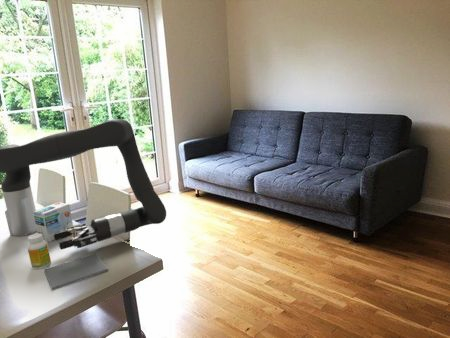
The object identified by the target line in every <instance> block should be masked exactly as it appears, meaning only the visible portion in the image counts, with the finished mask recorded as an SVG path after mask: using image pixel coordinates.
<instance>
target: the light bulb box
mask: <svg viewBox="0 0 450 338" xmlns="http://www.w3.org/2000/svg"><path fill="white" fill-rule="evenodd" d="M33 213H34V218H35V223H36V227H37V231H36V232H37V234H38V233H40V234H42V235H43V240H45V241H46V242H47V243H49V242H52V241H54V240H55V239H54V234H55V233H59V232H62V231H66V229H67V227H70V226H74V223H73V218H72V213H71V207H70V203H66V202H65V203H64V202H60V201H57V202H55V203H53V204H49V205H46V206H44V207H41V208H39V209H36V210H35V211H33ZM72 229H73V228H72ZM71 232H72V231H71Z"/></svg>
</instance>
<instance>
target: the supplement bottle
mask: <svg viewBox="0 0 450 338" xmlns="http://www.w3.org/2000/svg"><path fill="white" fill-rule="evenodd" d="M27 240H28V244H27V252H28V258H29V261H30V265H31V268H32V269H33V270H39V269H46V268H48V266H49V265H51V263H52V261H51V255H50V251H49V246H48V245H49V244H48V241H45V240H43V235H42V234H40V233H38V232H37V233H32V234H30V235H29V236H28V237H27Z"/></svg>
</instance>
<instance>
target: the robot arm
mask: <svg viewBox="0 0 450 338" xmlns="http://www.w3.org/2000/svg"><path fill="white" fill-rule="evenodd" d="M136 140H137V139H136V137H135V133H134V129H133V126H132V125H131V124H130V122H129V121H127V120H125V119H123V118H122V119H121V118H113V119H109V120H105V121H103V122H101V123H98V124H96V125H94V126H93V125H92V126H90V127H87V128H83V129H73V130H67V131H63V132H57V133H53V134H51V135H47V136H43V137H42V138H39V139H35V140H34V141H30V142H29V143H26V144H21V145H19V144H8V145H5V146H1V147H0V174H1V173H2V174H5V178H4V179H3V181H2V182H1V186H0V187H1V190H2V195H3V200H4V203H5V207H6V210H5V211H4V214H5V218H6V223H7V226H8V227H7V228H8V231H9V235H10V236H14V237H22V236H27V235H32V234H35V233H36V232H37V227H36V223H35V218H34V213H33V211H35V210H37V209H36V205H35V201H34V196H33V192H32V187H31V177H32V176H31V169H30V166H32V165H38V164H46V163H51V162H56V161H61V160H65V159H70V158H73V157H76V156H79V155H81V154H83V153H86V152H89V151H91V150H96V149H101V148H108V147H117V149H118V150H119V152H120V153H121V156H122V158H123V161H124V166H125V173H126V177H127V181H128V183H129V186H130V189H131V191H132V192H133V196H134V197H135V199H136V200H137V201H138V202H140V203H141V205H142V206H140V207H138V208H134V209H129V210H126V211H123V212H118V213H112V214H109V215H105V216H101V217H97V218H94V219H92V220H91V221H90V225H87V224H86V222H82V223H78V224H73V226H70V227H67V229H66V231H62V232H59V233H55V234H54V240H55V241H60V240H62V241H60V242H59V243H58V245H59V246H58V247H59V249H60V250H65V249H68V248H72V247H74V248H77V249H81V248H83V247H87V246H90V245H93V244H96V243H97V242H99V243H100V242H103V241H106V240H109V239H112V238H116V237H118V236H121V235H123V234H126V233H129V232H133V231H135V230H138V229H140V228H142V227H144V226H149V225H154V224H155V225H159V224H162V223H163V222H164V221H165V220H166V218H167V210H166V207H165V205H164V202H162V201H163V200H162V199H161V198H160V196H159V195H158V194H157V192H156V191H155V189H154V186H153V183H152V182H151V180H150V177H149V175H148V172H147V170H146V168H145V165H144V162H143V160H142V157H141V155H140V151H139V148H138V145H137V142H136ZM72 228H73V229H72ZM71 231H72V232H71ZM66 238H70V239H66ZM63 239H66V240H63Z"/></svg>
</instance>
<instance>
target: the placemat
mask: <svg viewBox="0 0 450 338" xmlns="http://www.w3.org/2000/svg"><path fill="white" fill-rule="evenodd" d="M108 271H109V270H108V268H107V266H106V265H105V263H104V262H103V261H102V260H101V259H100V257H99V256H98V255H97V254H96V253H95V252H94V253H91V254H87V255H85V256H81V257H78V258H75V259H72V260H70V261H66V262H62V263H60V264H57V265H54V266H51V267H46V268H43V272H44V274H45V276H46V278H47V281H48V283H49V286H50V287H51V290H52V291H53V290H56V289H59V288H62V287H64V286H67V285H70V284H73V283H74V284H75V283H77V282H79V281H81V280H85V279H87V278H91V277H94V276H96V275H99V274H103V273H105V272H108Z"/></svg>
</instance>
